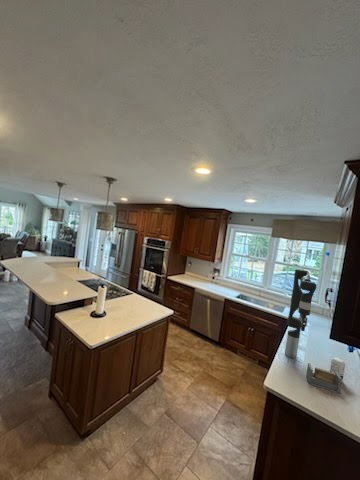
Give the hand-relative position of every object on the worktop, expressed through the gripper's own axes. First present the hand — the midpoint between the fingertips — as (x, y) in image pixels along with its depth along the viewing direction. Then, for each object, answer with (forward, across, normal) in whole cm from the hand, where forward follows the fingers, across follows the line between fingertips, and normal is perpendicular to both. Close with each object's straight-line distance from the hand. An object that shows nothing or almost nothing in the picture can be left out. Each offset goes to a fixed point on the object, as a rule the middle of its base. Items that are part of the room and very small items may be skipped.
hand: (301, 328), depth 159 cm
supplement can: (+33, -7, +28) cm, 44 cm away
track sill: (+33, +6, +16) cm, 37 cm away
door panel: (+32, +6, +17) cm, 37 cm away
